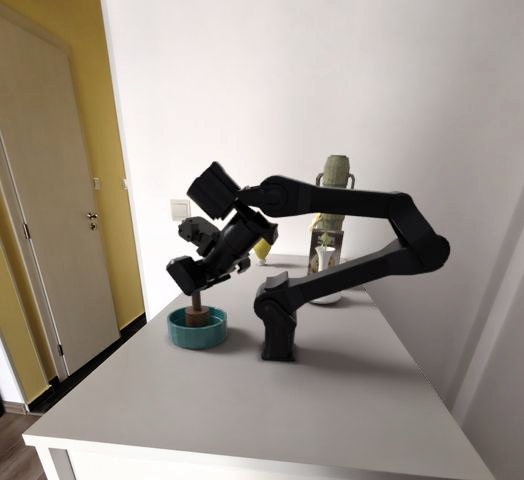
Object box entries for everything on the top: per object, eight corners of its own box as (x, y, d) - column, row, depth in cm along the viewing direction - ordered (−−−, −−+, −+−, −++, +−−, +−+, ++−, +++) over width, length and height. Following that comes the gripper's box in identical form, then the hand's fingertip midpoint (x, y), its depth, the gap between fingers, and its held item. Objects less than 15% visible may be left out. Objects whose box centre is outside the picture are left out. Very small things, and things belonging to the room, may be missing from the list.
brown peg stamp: (214, 323, 68) (211, 276, 63) (193, 329, 66) (189, 280, 61) (202, 316, 71) (198, 270, 67) (181, 321, 69) (177, 274, 64)
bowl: (221, 351, 64) (221, 330, 62) (161, 347, 65) (158, 326, 63) (231, 325, 75) (230, 306, 73) (178, 322, 75) (177, 303, 73)
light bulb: (250, 262, 123) (250, 234, 118) (267, 262, 125) (268, 234, 120) (255, 267, 117) (255, 238, 112) (273, 266, 119) (274, 237, 114)
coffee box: (305, 286, 101) (310, 231, 93) (307, 280, 106) (313, 227, 98) (335, 289, 99) (343, 233, 91) (336, 283, 104) (344, 229, 97)
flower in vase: (307, 290, 98) (317, 197, 86) (345, 297, 93) (361, 200, 81) (289, 303, 88) (296, 200, 76) (330, 313, 83) (345, 204, 71)
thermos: (309, 267, 120) (321, 155, 103) (342, 271, 117) (360, 156, 100) (304, 273, 113) (315, 154, 96) (339, 278, 109) (357, 155, 92)
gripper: (237, 197, 63) (195, 249, 73) (167, 205, 48) (127, 269, 58) (272, 245, 63) (226, 290, 73) (214, 267, 49) (166, 319, 59)
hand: (190, 291), depth 66 cm, fingers closed on brown peg stamp
